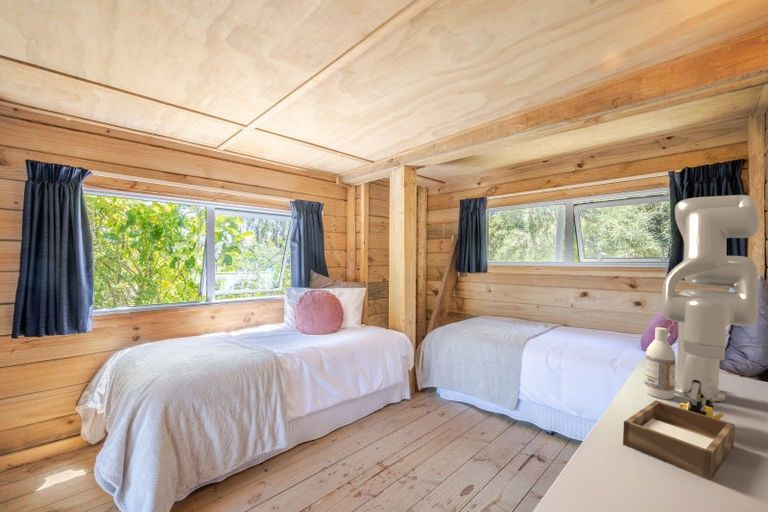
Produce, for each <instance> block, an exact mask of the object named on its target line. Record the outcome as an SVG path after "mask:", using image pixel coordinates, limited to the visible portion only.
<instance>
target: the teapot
mask: <svg viewBox="0 0 768 512" xmlns="http://www.w3.org/2000/svg"><path fill="white" fill-rule="evenodd" d="M688 406H689V401H688V402H687V403H683V402H680V403H679V408H682V409H684V407H686V410H688ZM705 412H706V416H709V417H712V418H716V419H719V420H721V418H723V417H724V413H722V412H719V413H717V414H716V415H715V414H714V407H713V408H712V407H708V406H705Z"/></svg>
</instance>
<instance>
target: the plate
mask: <svg viewBox="0 0 768 512" xmlns="http://www.w3.org/2000/svg"><path fill="white" fill-rule="evenodd" d="M643 427H646V428H649V429H651V430H654V431H657V432H660V433H663V434H665V435H668V436H671V437H674V438H676V439H679V440H682V441H685V442H688V443H690V444H693V445H696V446H699V447H701V448H704V449H706V448H707V447H708V446H709V445H710V443H711V442H712V441H713V440H714V439H711V438H708V437H705V436H702V435H699V434H696V433H693V432H690V431H687V430H684V429H682V428H679V427H676V426H673V425H670V424H667V423H664V422H661V421H658V420H655V419H651V420H650V421H648V422H647V423H645V424H644V425H643Z"/></svg>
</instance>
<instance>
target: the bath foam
mask: <svg viewBox="0 0 768 512" xmlns="http://www.w3.org/2000/svg"><path fill="white" fill-rule="evenodd" d="M668 333H669V329H668V328H666V327H660V326H659V327H658V326H657V327H655V331H654V340H653V341H652V342H651V343H650V344H649V345H648V347H647V348H646V351H645V363H644V381H643V383H644V385H643V386H644V389H643V391H644V392H645V393H646V394H647V395H649V396H651V397H653V398H656V399H662V400H672V399H674V397H675V391H674V386H675V382H676V381H675V380H676V365H677V359H676V358H677V357H676V354H675V353H676V352H675V351H674V349H673V347H672V345H671V344H670V342H668V339H669V337H668V336H669V334H668Z"/></svg>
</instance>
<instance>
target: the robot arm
mask: <svg viewBox="0 0 768 512" xmlns="http://www.w3.org/2000/svg"><path fill="white" fill-rule="evenodd" d="M759 214H760V213H759V210H758V207H757V204H756V201H755V200H754V198H753V197H752V196H750V195H747V194H735V195H731V194H730V195H716V196H715V195H714V196H699V197H691V198H685V199H682V200H680V201H679V202H677V204H676V205H675V208H674V217H675V218H674V219H675V222H676V225H677V228H678V230H679V232H680V234H681V237H682V239H683V240H682V241H683V243H684V245H683V246H684V247H683V260H682V261H681V262H680V263H678V264H677V265H676V266H674V267H673V268H672V269H671V270H670V271H669V273H667V275H666V277H665V279H664V281H663V284H662V289H661V291H662V294H661V305H660V307H661V314H662V316H663V317H664V318H665V319H666V320H668V321H670V322H675V323H678V326H677V327H678V328H677V329H678V334H677V353H676V355H677V357H676V358H677V359H676V376H675V380H676V381H675V386H674V393H675V392H676V393H678V394H680V395H683V396H684V397H688V398H689V400H688V402H689V406H688V410H689V411H692V412H696V413H699V414H702V415H706V412H705V406H708V407H712V408H713V409H714V402H715V401H717V402H718V401H720V402H724V401H726V395H725V393H723V392H722V391H720V390H719V389H720V388H719V385H720V384H719V383H720V381H719V380H720V362H721V361H725V359H726V358H725V357H726V335H727V334H726V333H727V326H729V325H731V326H741V327H742V326H743V327H748V326H749V327H750V326H752V325H755V323H756V322H757V320H758V316H759V315H758V314H759V291H758V290H759V286H758V284H759V283H758V282H759V277H758V276H759V275H758V267H757V264H756V262H755V260H754V259H752V258H750V257H747V256H741V255H727V239H730V238H732V239H733V238H734V239H739V238H740V239H741V238H743V239H746V238H747V239H748V238H752V237H754V236H756V234H757V233H758V231H759V227H760V215H759ZM683 279H684V281H686V283H688V284H689V285H692V286H693V285H694V286H701V287H713V288H714V287H715V288H725V289H726V288H729V289H732V290H733V291H734V292H733V291H725V290H724V291H721V290H719V291H718V290H712V289H711V290H710V289H699V288H697V289H696V288H695V289H694V288H691V289H685V290H682V291H680V292H678V294H676V287H677V285H678V283H680V281H681V280H683ZM717 402H716V403H717Z"/></svg>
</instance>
